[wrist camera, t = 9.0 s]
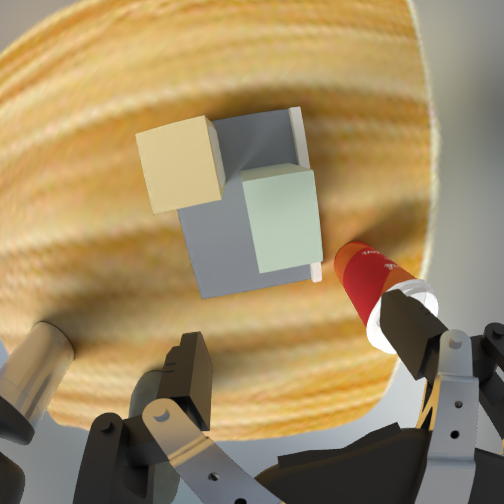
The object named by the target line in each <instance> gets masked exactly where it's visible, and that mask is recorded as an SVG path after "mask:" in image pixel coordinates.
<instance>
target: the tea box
mask: <svg viewBox="0 0 504 504" xmlns="http://www.w3.org/2000/svg"><path fill="white" fill-rule="evenodd" d="M240 174H241V179H242V184H243V189H244V195H245V200H246V205H247V210H248V216H249V221H250V226H251V231H252V237H253V242H254V247H255V252H256V257H257V262H258V267H259V273H265V272H271V271H276V270H281V269H286V268H291V267H296V266H301V265H306V264H311V263H316V262H321V261H323V252H322V241H321V230H320V220H319V211H318V202H317V194H316V186H315V179H314V171H313V170H311V169H308V168H305V167H302V166H298V165H295V164H292V163H283V164H277V165H271V166H265V167H259V168H253V169H248V170H242V171H240Z"/></svg>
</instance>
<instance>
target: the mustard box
mask: <svg viewBox="0 0 504 504" xmlns="http://www.w3.org/2000/svg"><path fill="white" fill-rule="evenodd" d="M135 135H136V141H137V146H138V150H139V155H140V160H141V164H142V169H143V173H144V178H145V182H146V186H147V190H148V194H149V198H150V202H151V206H152V210H153V214H154V215H155V214H159V213H163V212H167V211H172V210H176V209H180V208H185V207H189V206H194V205H198V204H203V203H208V202H213V201H217V200H221V199H222V195H223V192H224V188H225V184H226V182H225V179H226V178H225V173H224V167H223V162H222V157H221V152H220V147H219V142H218V137H217V132H216V130H215V127H214V125H213V124H212V123H211V122H210V121H209V119H208V118H207V117H206V116H205V115H203V116H199V117H195V118H191V119H187V120H183V121H179V122H175V123H171V124H168V125H164V126H160V127H157V128H154V129H150V130H147V131H144V132H141V133H138V134H135Z"/></svg>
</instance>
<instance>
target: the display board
mask: <svg viewBox="0 0 504 504" xmlns="http://www.w3.org/2000/svg"><path fill="white" fill-rule="evenodd" d="M211 123H212V124H213V125H214V127H215V130H216V132H217V137H218V142H219V147H220V152H221V157H222V162H223V167H224V173H225V178H226V179H225V182H226V184H225V188H224V192H223V195H222V199H221V200H217V201H213V202H208V203H203V204H198V205H194V206H189V207H185V208H180V209H177V211H178V215H179V219H180V223H181V227H182V231H183V234H184V238H185V242H186V245H187V249H188V253H189V256H190V260H191V263H192V267H193V270H194V274H195V277H196V281H197V284H198V287H199V291H200V294H201V297H202V299H205V298H211V297H217V296H223V295H229V294H234V293H240V292H245V291H251V290H256V289H262V288H267V287H272V286H277V285H283V284H288V283H293V282H298V281H303V280H307V279H312V281H313V282H319V281H322V274H321V262H316V263H311V264H306V265H301V266H296V267H291V268H286V269H281V270H276V271H271V272H265V273H259V267H258V262H257V257H256V252H255V247H254V242H253V237H252V231H251V226H250V221H249V216H248V210H247V205H246V200H245V195H244V189H243V184H242V179H241V174H240V171H242V170H248V169H253V168H259V167H265V166H271V165H277V164H283V163H292V164H295V165H298V166H302V167H305V168H308V169H310V163H309V156H308V150H307V143H306V137H305V131H304V125H303V120H302V114H301V109H300V107H291V108H289V109H283V110H275V111H268V112H261V113H254V114H248V115H242V116H236V117H231V118H225V119H220V120H216V121H211Z"/></svg>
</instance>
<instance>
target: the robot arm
mask: <svg viewBox="0 0 504 504" xmlns="http://www.w3.org/2000/svg"><path fill="white" fill-rule="evenodd" d="M379 323H380V328H381V331H382V333H383V334H384V336H385V337H386V339H387V340H388V341H389V343H390V344H391V346H392V347H393V348H394V350H395V351H396V353H397V354H398V356H399V357H400V358H401V360H402V361H403V363H404V364H405V366H406V367H407V369H408V370H409V372H410V373H411V374H412V376H413V377H414V379H415V380H418V379H421V378H423V377H425V378H426V379H427V381H426V384H425V389H424V395H423V400H422V405H421V410H420V415H419V419H418V422H417V425H416V427H415V428H402V429H400V427H399V425H398V423H397V422H396V423H393V424H391V425H388V426H386V427H383V428H381V429H378V430H375V431H373V432H370V433H368V434H367V435H365V436H364V437H362V438H360V439H359V440H357V441H355V442H353V443H352V444H350V445H348V446H346V447H344V448H341V449H329V450H308V451H303V452H299V453H294V454H289V455H283V456H278V463H279V464H276V465H274V466H271V467H269V468H268V469H266V470H264V471H262V472H261V473H260V474H258V475H257V476H256V477H254V478H252V477H251V476H250V475H249V474H248V473H246V472H245V471H244V470H243V469H242V468H241V467H240V466H239V465H238V464H237V463H235V462H234V461H233V460H232V459H231V458H230V457H229V456H228V455H227V454H226V453H225V452H224V451H223V450H222V449H221V448H220V447H218V445H217V444H216V443H215V442H214V441H213V440H212V439H210V438H209V437H206V436H205V435H204V434H203V433H202V432H201V431H210V414H211V391H212V371H213V370H212V362H211V358H210V355H209V352H208V350H207V347H206V344H205V342H204V339H203V336H202V334H201V332H200V331H199V332H192V333H185V334H183V335H182V338H181V342H180V346H175V347H173V348H172V349H171V350H170V351H169V353H168V354H167V356H166V360H165V366H164V368H163V373H162V376H161V380H160V384H159V388H158V392H157V397H156V400H155V401H152V402H151V403H149V404H148V405H147V406H146V407H145V409H144V411H143V414H141V415H139V416H135V417H131V418H128V419H124V420H122V419H121V417H120V416H119V415H117V414H115V413H104V414H102V415H100V416H98V417H97V418H96V419H95V420H94V421H93V423H92V426H91V429H90V432H89V436H88V440H87V443H86V447H85V451H84V455H83V458H82V462H81V466H80V470H79V475H78V479H77V484H76V489H75V493H74V499H73V504H153V490H154V474H155V464H159V463H163V462H166V461H169V462H170V464H171V465H172V466H173V468H174V469H175V470H176V472H177V473H178V474H179V475H180V477H181V478H182V479H183V480H184V482H185V483H186V484H187V485H188V486H189V488H190V489H191V490H192V491H193V492H194V494H195V495H196V496H197V497H198V498H199V499H200V500H201V501H202V503H203V504H504V382H503V381H502V379H501V378H500V377H499V375H498V374H497V373H496V372H495V371H496V369H497V367H498V366H499V367H500V368H501V369H502V371H503V372H504V325H503V324H500V323H490V324H488V325H487V326H486V327H485V330H484V333H483V335H478V336H473V337H469V336H468V335H467V334H466V333H465V332H463V331H460V330H455V329H453V330H448V328H447V327H445V326H444V324H443V323H442V322H441V321H440V320H439V319H438V318H437V317H436V316H435V315H434V314H433V313H431V311H430V310H429V309H428V308H426V307H425V306H424V305H423V304H422V303H421V302H420V301H419V300H417V299H415V298H413V297H411V296H408V297H407V296H406V295H405V294H404V293H403V292H402V291H401V290H400V289H398V288H397V289H394V290H390V291H387V292H383V293H382V296H381V308H380V319H379ZM73 359H74V350H73V347H72V345H71V343H70V342H69V340H68V339H67V338H66V336H65V335H64V334H63V333H62V332H61V331H60V330H58V329H57V328H56V327H54V326H53V325H51V324H48V323H45V322H39V323H37V324H36V325H35V326H34V327H33V328H32V329H31V330H30V332H29V333H28V334H27V335H26V336H25V338H24V339H23V340H22V341H21V343H20V344H19V345H18V346H17V348H16V349H15V350H14V352H13V353H12V354H11V355H10V357H9V358H8V359H7V361H6V362H5V364H4V365H3V366H2V368H1V369H0V438H3V439H7V440H9V441H12V442H14V443H17V444H20V445H28V444H29V443H30V442H31V440H32V438H33V436H34V434H35V431H36V429H37V427H38V425H39V423H40V421H41V419H42V416H43V414H44V413H45V411H46V409H47V407H48V405H49V403H50V401H51V399H52V397H53V395H54V393H55V391H56V389H57V388H58V386H59V384H60V382H61V380H62V378H63V377H64V375H65V373H66V371H67V370H68V368H69V366H70V364H71V363H72V361H73ZM479 402H480V404H481V405H482V407H483V408H484V410H485V412H486V413H487V415H488V416H489V418H490V420H491V421H492V423H493V425H494V426H495V428H496V430H497V432H498V433H499V435H500V437H501V439H502V440H503V442H502V451H501V452H500V455H498V454H494V453H491V452H488V451H485V450H481V449H478V448H475V442H476V433H477V422H478V403H479ZM24 487H25V475H24V472H23V470H22V469H21V468H20V467H19V466H18V465H17V464H15V463H14V462H13V461H11V460H10V459H9V458H8V457H6V456H5V455H3V454H2V453H1V452H0V504H20V501H21V498H22V495H23V492H24Z"/></svg>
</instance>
